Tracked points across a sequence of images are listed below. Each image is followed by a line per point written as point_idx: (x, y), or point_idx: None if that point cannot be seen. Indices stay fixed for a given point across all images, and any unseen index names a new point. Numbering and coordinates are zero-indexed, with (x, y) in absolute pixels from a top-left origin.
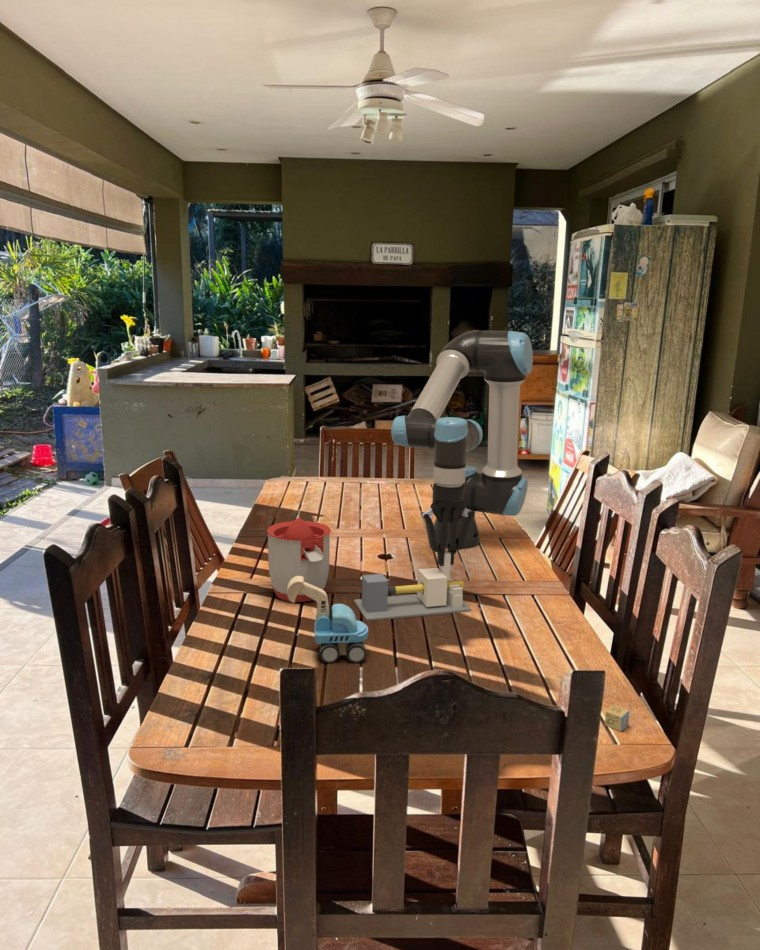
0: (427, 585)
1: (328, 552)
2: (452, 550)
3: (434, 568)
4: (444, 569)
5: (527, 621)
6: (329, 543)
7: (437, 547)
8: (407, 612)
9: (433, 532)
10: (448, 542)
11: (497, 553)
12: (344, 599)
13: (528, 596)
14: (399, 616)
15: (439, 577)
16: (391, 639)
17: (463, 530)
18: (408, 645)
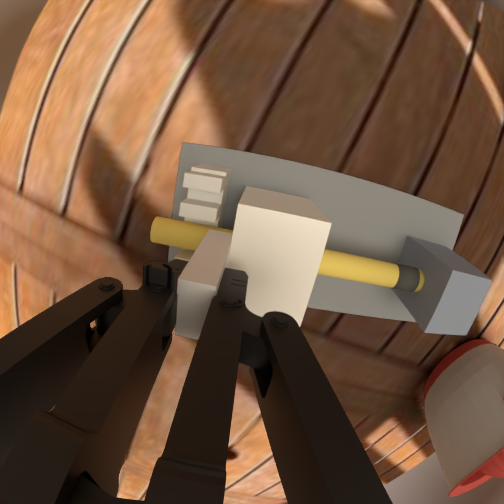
0: (325, 216)
1: (479, 418)
2: (161, 286)
3: None
4: (228, 249)
5: (97, 48)
6: (476, 440)
7: (269, 327)
8: (371, 201)
9: (319, 430)
10: (159, 352)
11: None
12: (424, 335)
13: (28, 185)
14: (400, 191)
15: (270, 220)
16: (460, 102)
17: (20, 350)
18: (441, 58)
